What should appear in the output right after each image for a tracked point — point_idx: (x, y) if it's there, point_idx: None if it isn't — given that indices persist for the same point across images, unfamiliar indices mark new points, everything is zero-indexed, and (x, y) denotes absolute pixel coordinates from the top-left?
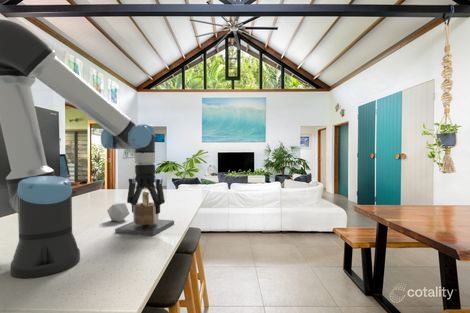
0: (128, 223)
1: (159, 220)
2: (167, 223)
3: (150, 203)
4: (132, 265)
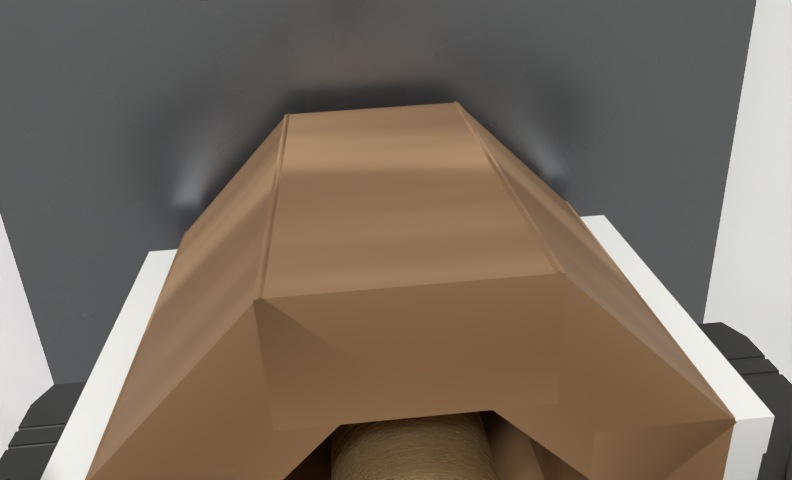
0: (35, 302)
1: None
2: (725, 113)
3: (478, 408)
4: None
